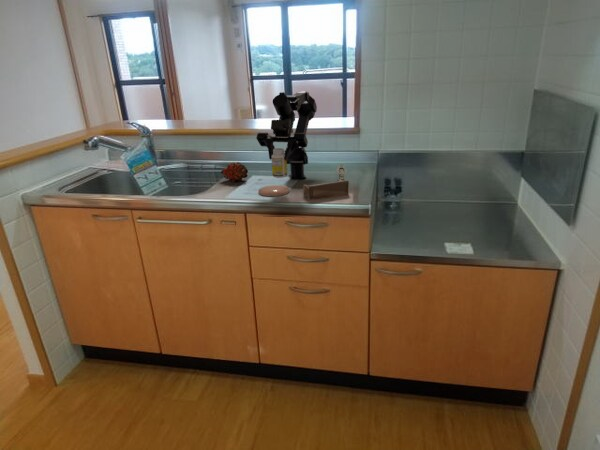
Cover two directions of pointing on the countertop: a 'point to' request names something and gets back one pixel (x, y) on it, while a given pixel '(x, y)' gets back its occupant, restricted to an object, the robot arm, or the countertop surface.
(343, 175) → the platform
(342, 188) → the open wooden frame
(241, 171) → the red spiky round lump
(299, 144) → the robot arm
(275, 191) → the terracotta saucer
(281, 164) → the supplement bottle
